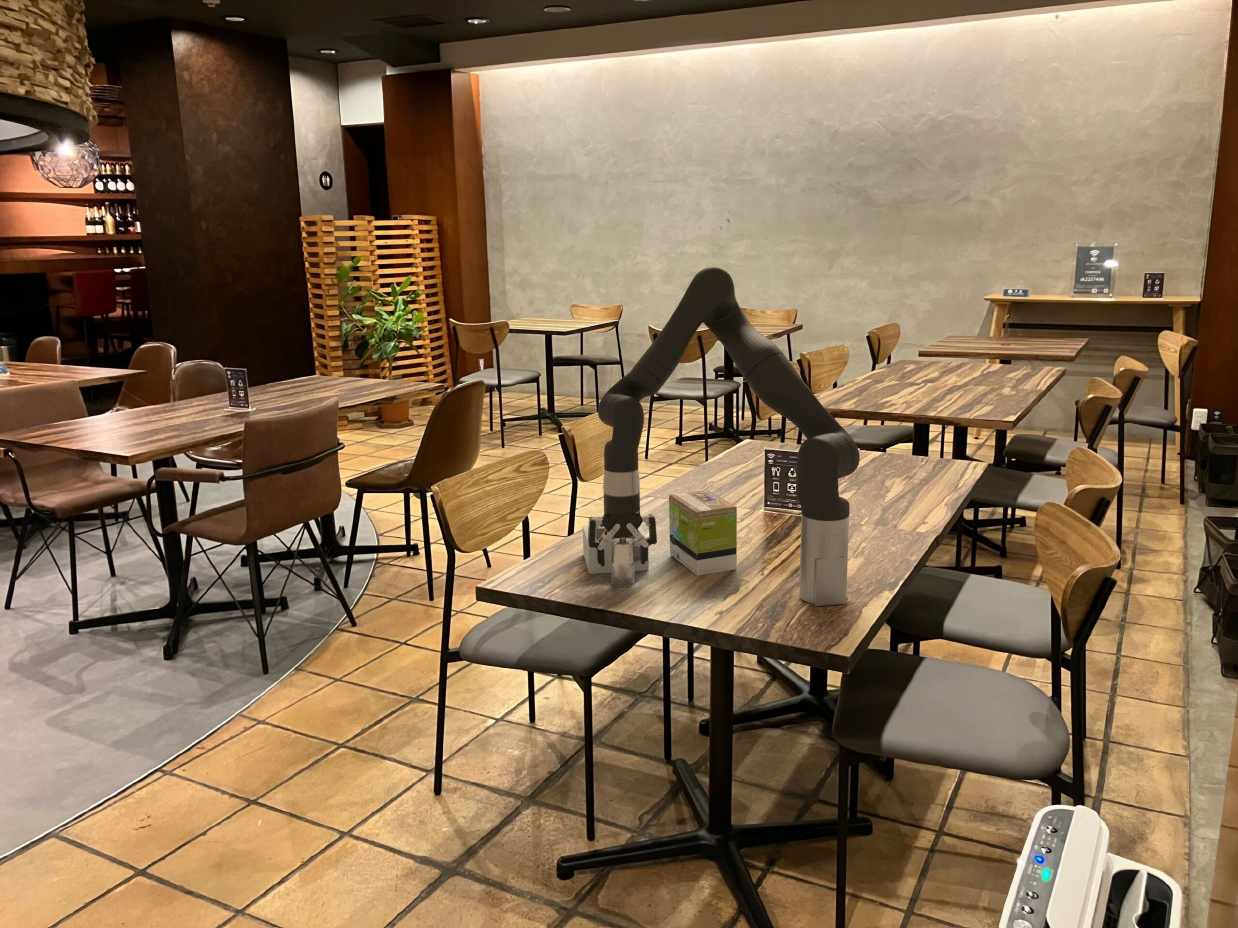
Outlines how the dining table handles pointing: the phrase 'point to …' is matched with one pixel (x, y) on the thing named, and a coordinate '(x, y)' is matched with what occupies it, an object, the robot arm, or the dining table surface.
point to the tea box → (703, 532)
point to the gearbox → (607, 552)
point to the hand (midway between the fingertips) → (622, 564)
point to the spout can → (623, 562)
